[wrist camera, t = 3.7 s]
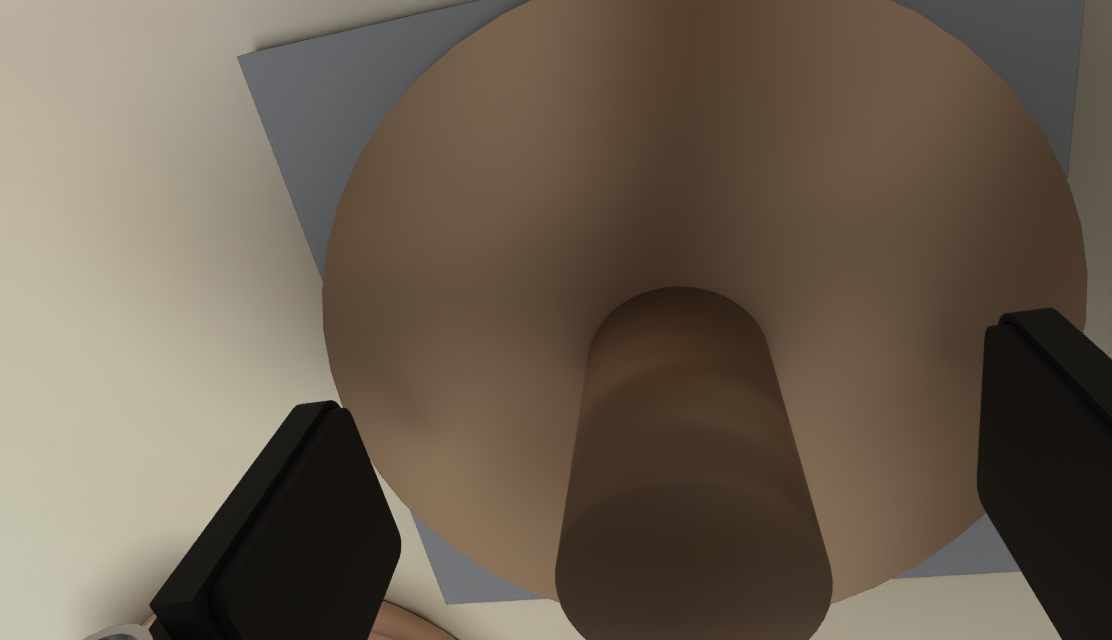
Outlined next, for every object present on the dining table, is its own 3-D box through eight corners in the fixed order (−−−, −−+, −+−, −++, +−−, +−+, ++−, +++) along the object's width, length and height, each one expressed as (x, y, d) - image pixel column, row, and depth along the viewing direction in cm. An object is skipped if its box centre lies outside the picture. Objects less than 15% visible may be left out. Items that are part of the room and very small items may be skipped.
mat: (1075, -138, 10) (1098, -142, 10) (1016, 549, 16) (1029, 570, 15) (254, 51, 13) (236, 56, 12) (452, 585, 18) (445, 604, 18)
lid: (1098, -141, 10) (1623, -237, 4) (1027, 570, 15) (1225, 901, 10) (237, 55, 12) (-74, 142, 7) (445, 603, 18) (359, 881, 13)
